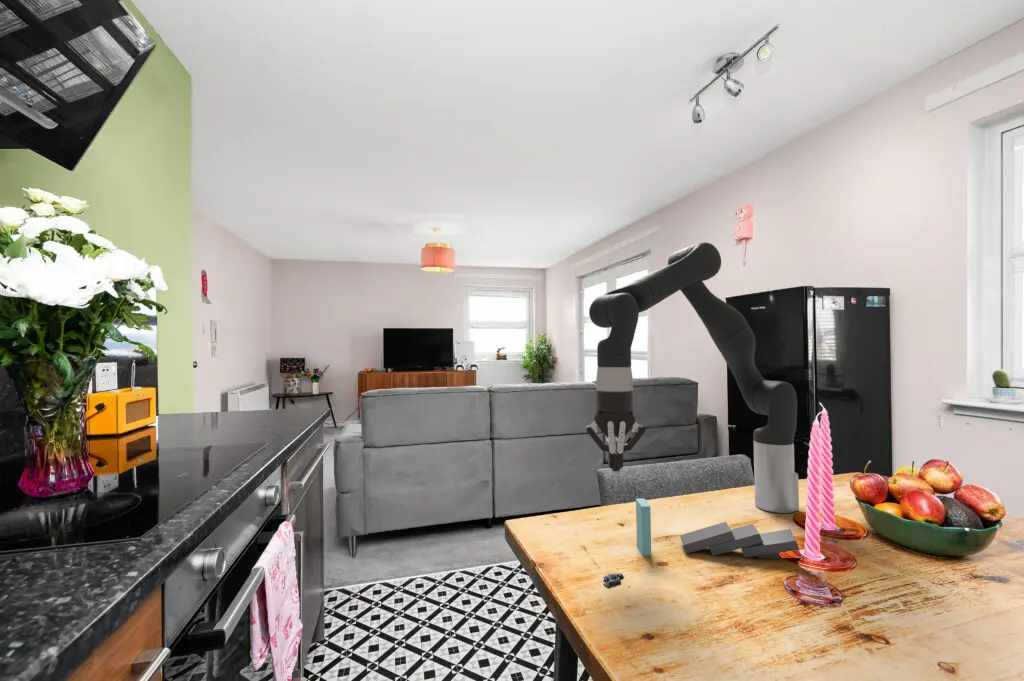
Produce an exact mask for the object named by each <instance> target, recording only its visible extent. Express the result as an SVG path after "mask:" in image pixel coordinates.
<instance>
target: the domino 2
mask: <svg viewBox="0 0 1024 681" xmlns="http://www.w3.org/2000/svg"><path fill="white" fill-rule="evenodd" d="M731 531H732V533H733V536H734V538H735V540H732V541H728V542H725V543H722V544H718V545H715V546H711V547H708V548H709V549H710V552H711V554H712V556H713V557H714V556H718V555H721V554H726V553H729V552H733V551H737V550H740V549H741V548H744V547H747V546H751V545H755V544H758V543H762V542H763V541H762V538H761V536H760V534H761V533H760V532H759V531H758V529H757V528H756V527H755V524H753V523H750V524H746V525H743V526H740V527H736V528H733V529H732V528H731Z"/></svg>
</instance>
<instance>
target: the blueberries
mask: <svg viewBox="0 0 1024 681" xmlns="http://www.w3.org/2000/svg"><path fill="white" fill-rule="evenodd" d="M603 579H604V580H603V587H605V588H607V589H611V588H612V587H616V586H620V585H621V584H622V581H623V580H624V579H625V575H623V574H622V573H617V572H616V573H614V572H613V573H608V574H606V575H605V574H604V576H603ZM604 582H605V583H604ZM629 587H630V585H629V586H627V588H629Z"/></svg>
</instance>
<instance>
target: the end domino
mask: <svg viewBox="0 0 1024 681" xmlns="http://www.w3.org/2000/svg"><path fill="white" fill-rule="evenodd" d="M635 513H636V514H635V516H636V520H635V521H636V522H635V523H636V524H635V525H636V527H635V528H636V546H638V547H637V548H638V550H639V552H640V554H641V556H642V557H643V556H644V557H646V556H647V557H649V556H650V557H651V556H652V527H651V526H652V525H651V524H652V520H651V519H652V518H651V517H652V516H651V505H650V504H649V502H648V501H647V500H646V498H635Z"/></svg>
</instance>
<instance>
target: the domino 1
mask: <svg viewBox="0 0 1024 681" xmlns="http://www.w3.org/2000/svg"><path fill="white" fill-rule="evenodd" d="M731 530H732V528H730V526H729V525H728V523H727V521H724V522H719V523H717V524H714V525H713V524H712V525H709V526H706V527H703V528H700V529H697V530H693V531H690V532H687V533H683V534H680V535H679V537H680V540H681V544H682V546H683V548H684V551H685V553H686V555H687V554H690V553H694V552H697V551H701V550H704V549H707V548H709V547H711V546H715V545H718V544H722V543H725V542H728V541H732V540H735V538H734V536H733V533H732V531H731Z"/></svg>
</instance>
